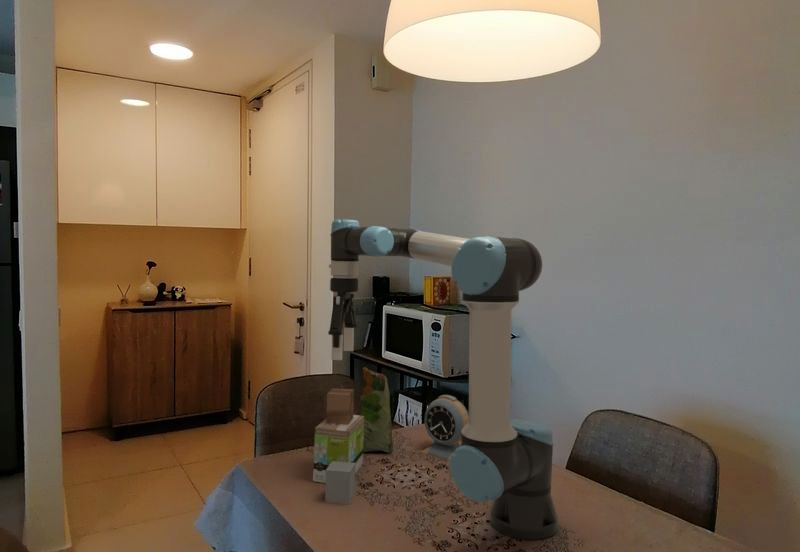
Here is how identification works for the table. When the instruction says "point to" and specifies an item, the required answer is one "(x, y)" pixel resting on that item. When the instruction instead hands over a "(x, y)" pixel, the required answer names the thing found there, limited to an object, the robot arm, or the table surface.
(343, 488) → the grey block
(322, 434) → the tea box
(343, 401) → the walnut block
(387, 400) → the pouch
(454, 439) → the alarm clock
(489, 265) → the robot arm
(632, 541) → the table surface
